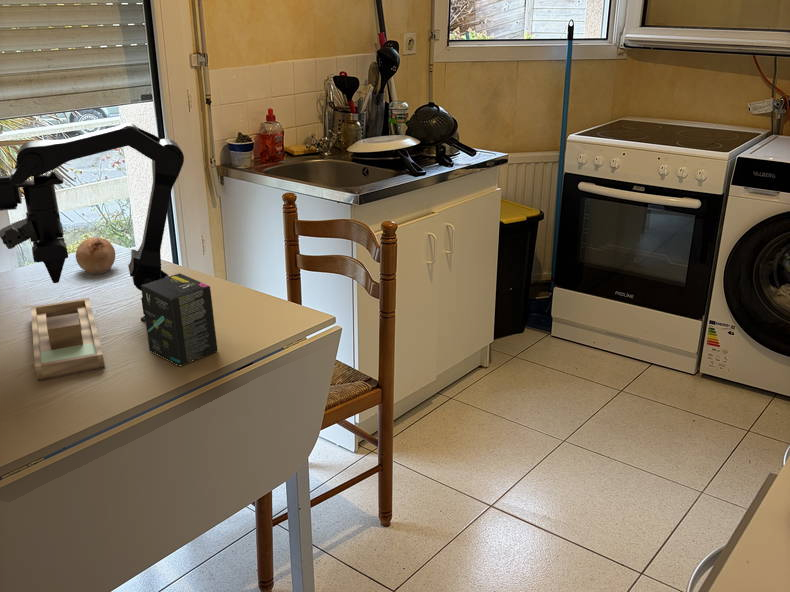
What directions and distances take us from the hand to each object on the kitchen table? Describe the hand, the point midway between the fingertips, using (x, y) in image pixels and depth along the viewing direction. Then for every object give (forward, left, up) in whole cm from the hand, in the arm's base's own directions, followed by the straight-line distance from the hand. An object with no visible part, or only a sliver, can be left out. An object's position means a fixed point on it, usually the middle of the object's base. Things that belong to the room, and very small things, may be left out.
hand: (55, 279), depth 161 cm
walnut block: (-6, +6, -10) cm, 13 cm away
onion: (+17, -31, -12) cm, 38 cm away
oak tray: (-4, +4, -12) cm, 13 cm away
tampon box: (-29, -1, -12) cm, 31 cm away
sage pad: (-11, +11, -12) cm, 20 cm away
